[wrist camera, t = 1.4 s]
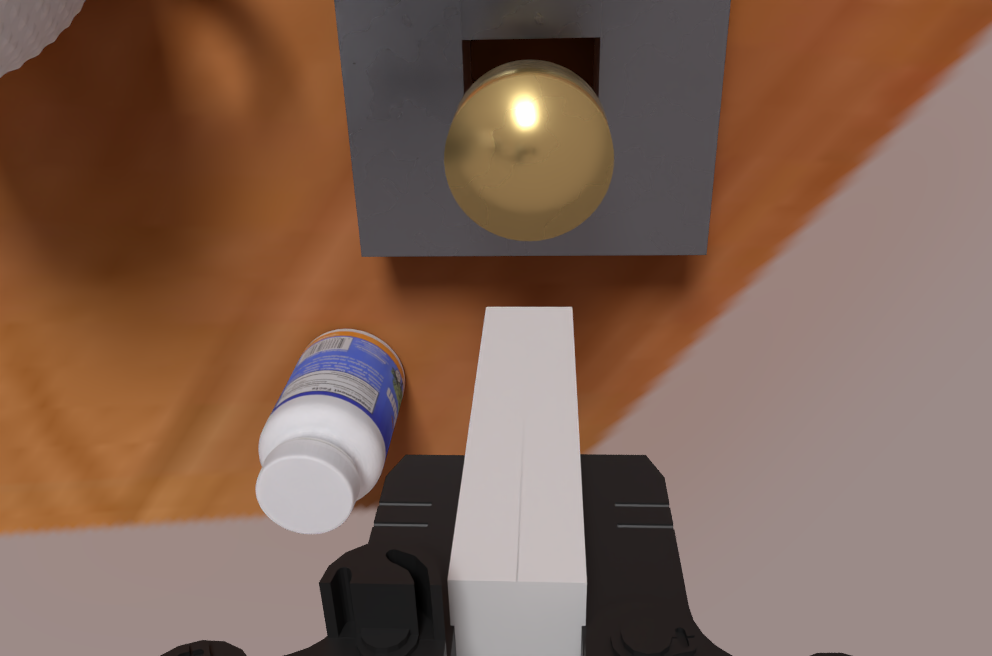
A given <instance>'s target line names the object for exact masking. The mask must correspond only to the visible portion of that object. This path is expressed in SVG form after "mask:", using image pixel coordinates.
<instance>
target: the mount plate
mask: <svg viewBox="0 0 992 656" xmlns="http://www.w3.org/2000/svg"><path fill="white" fill-rule="evenodd" d="M334 2H335V12H336V21H337V30H338V40H339V49H340V58H341V68H342V77H343V86H344V96H345V105H346V114H347V123H348V133H349V142H350V151H351V161H352V170H353V179H354V189H355V198H356V207H357V217H358V226H359V235H360V245H361V254H362V257H388V256H585V255H706V253H707V243H708V232H709V222H710V211H711V201H712V190H713V180H714V169H715V159H716V149H717V138H718V128H719V117H720V107H721V96H722V86H723V76H724V65H725V55H726V44H727V34H728V23H729V13H730V2H731V0H334ZM591 37H594V59H593V91H594V92H595V94H596V95H597V97H598V98H599V100H600V102H601V104H602V106H603V109H604V112H605V115H606V118H607V122H608V126H609V130H610V134H611V138H612V143H613V149H614V167H613V174H612V178H611V182H610V185H609V188H608V190H607V193H606V194H605V196H604V198H603V200H602V202H601V203H600V205H599V206H598V207H597V209H596V210H595V211H594V212H593V213H592V214H591V215H590V216H589V217H588V218H587V219H586V220H585V221H584V222H583V223H581V224H580V225H579V226H577V227H576V228H574V229H572V230H571V231H569V232H567V233H564V234H562V235H560V236H557V237H554V238H551V239H545V240H540V241H518V240H512V239H507V238H504V237H501V236H498V235H496V234H493V233H491V232H489V231H487V230H485V229H484V228H482V227H481V226H479V225H478V224H476V223H475V222H474V221H473V220H471V219H470V218H469V217H468V216H467V215H466V213H465V212H464V211H463V210H462V209H461V207H460V206H459V205H458V203H457V202H456V200H455V198H454V196H453V195H452V192H451V190H450V188H449V185H448V182H447V178H446V174H445V166H444V151H445V144H446V139H447V136H448V133H449V129H450V127H451V124H452V121H453V118H454V115H455V112H456V110H457V108H458V105H459V103H460V101H461V99H462V98H463V96H464V94H465V93H466V92H467V90H468V89H469V88H470V87H471V85H472V66H471V40H483V39H537V38H591Z"/></svg>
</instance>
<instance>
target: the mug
mask: <svg viewBox="0 0 992 656" xmlns="http://www.w3.org/2000/svg"><path fill="white" fill-rule="evenodd" d="M85 1H86V0H0V78H1V77H2V76H3V75H4V74H6V73H7V72H10V71H12V70H16V69H19V68H21V66H22V65H23V64H24V62H26V61H27V60H29V59H31V58H34V57H36V56H38V55H39V54H40V53H41V51H42V50H43V48H45V47H46V46H47V45H49V44H51V43H53V42H55V40H56V39H57V37H58V35H59V34H60V33H61V32H62V31H63V30H64V29H66V28H68V27H69V26H70V25H71V22H72V20H73V18H74V16H75V15H77V14H78V13H79V12H80V11H81V9H82V6H83V3H84V2H85Z"/></svg>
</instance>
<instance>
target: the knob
mask: <svg viewBox="0 0 992 656" xmlns="http://www.w3.org/2000/svg"><path fill="white" fill-rule="evenodd" d="M444 166H445V174H446V178H447V182H448V185H449V188H450V190H451V192H452V195H453V196H454V198H455V200H456V202H457V203H458V205H459V206H460V207H461V209H462V210H463V211H464V212H465V213H466V215H467V216H468V217H469V218H470V219H471V220H473V221H474V222H475V223H476V224H478V225H479V226H481V227H482V228H484V229H485V230H487V231H489V232H491V233H493V234H496V235H498V236H501V237H504V238H507V239H512V240H518V241H540V240H545V239H551V238H554V237H557V236H560V235H562V234H564V233H567V232H569V231H571V230H572V229H574V228H576V227H577V226H579V225H580V224H581V223H583V222H584V221H585V220H586V219H587V218H588V217H589V216H590V215H591V214H592V213H593V212H594V211H595V210H596V209H597V207H598V206H599V205H600V203H601V202H602V200H603V198H604V196H605V194H606V193H607V190H608V188H609V185H610V182H611V178H612V174H613V167H614V149H613V143H612V138H611V134H610V130H609V126H608V122H607V118H606V115H605V112H604V109H603V106H602V104H601V102H600V100H599V98H598V97H597V95H596V94H595V92H594V91H593V90H592V88H591V87H590V86H589V85H588V84H587V83H586V82H585V81H584V80H583V79H582V78H581V77H580V76H578V75H577V74H575V73H574V72H572V71H571V70H569V69H567V68H565V67H563V66H561V65H558V64H555V63H552V62H548V61H543V60H530V59H529V60H518V61H513V62H509V63H506V64H503V65H500V66H498V67H496V68H494V69H492V70H490V71H488V72H487V73H485V74H484V75H483V76H481V77H480V78H479V79H478V80H477V81H476V82H474V83H473V84H472V85H471V87H470V88H469V89H468V90H467V92H466V93H465V94H464V96H463V98H462V99H461V101H460V103H459V105H458V108H457V110H456V112H455V115H454V118H453V121H452V124H451V127H450V129H449V133H448V136H447V139H446V144H445V151H444Z"/></svg>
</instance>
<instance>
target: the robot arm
mask: <svg viewBox="0 0 992 656" xmlns="http://www.w3.org/2000/svg"><path fill="white" fill-rule="evenodd" d="M319 586H320V592H321V598H322V604H323V610H324V617H325V622H326V629H327V635H328V636H327V637H326V638H325V639H323V640H321V641H320V642H318V643H316V644H314V645H312V646H311V647H309V648H306V649H303V650H300V651H298V652H294V653H292V654H288V655H284V656H732V655H730V654H729V653H727V652H725V651H723V650H722V649H720V648H719V647H717V646H716V645H714V644H713V643H712V642H711V641H710V640H709V639H708V638H707V637H706V636H705V635H704V634H703V633H702V632H701V631H700V629H699V628H698V626H697V625H696V623H695V622H694V620H693V617H692V615H691V612H690V609H689V605H688V600H687V595H686V590H685V584H684V579H683V573H682V568H681V563H680V558H679V552H678V547H677V542H676V536H675V531H674V529H673V521H672V515H671V510H670V508H669V499H668V494H667V489H666V483H665V478H664V477H663V475H662V474H661V473H660V472H659V470H658V469H657V468H656V467H655V466H654V464H652V462H651V461H650V460H649V458H648V457H647V456H646V455H586V454H580V443H579V424H578V405H577V386H576V368H575V349H574V330H573V311H572V307H486V311H485V318H484V325H483V333H482V340H481V347H480V354H479V361H478V368H477V375H476V382H475V389H474V396H473V403H472V410H471V417H470V424H469V431H468V438H467V445H466V453H465V455H405V456H404V457H403V458H402V459H401V461H400V462H399V463H398V464H397V465H396V466H395V467H394V468H393V469H392V470H391V471H390V473H389V474H388V475H387V476H386V478H385V482H384V486H383V490H382V494H381V497H380V501H379V506H378V509H377V512H376V516H375V520H374V527H373V528H372V532H371V535H370V539H369V542H368V544H366V545H364V546H361V547H358V548H356V549H354V550H351V551H348V552H346V553H345V554H343V555H342V556H341V557H340V558H338V559H337V560H336V561H335V562H333V563H332V564H331V565H329V567H328V568H327V570H326V572H325V574H324V575H323V577H322V579H321V580H320V582H319ZM161 656H246V654H245V653H244V652H243V650H242V649H239V648H238V647H235V646H233V645H231V644H229V643H227V642H224V641H206V640H202V641H197V642H193V643H189V644H185V645H181V646H178V647H176V648H174V649H172V650H170V651H168V652H166V653H165V654H163V655H161ZM811 656H851V655H847V654H844V653H816V654H813V655H811Z"/></svg>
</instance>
